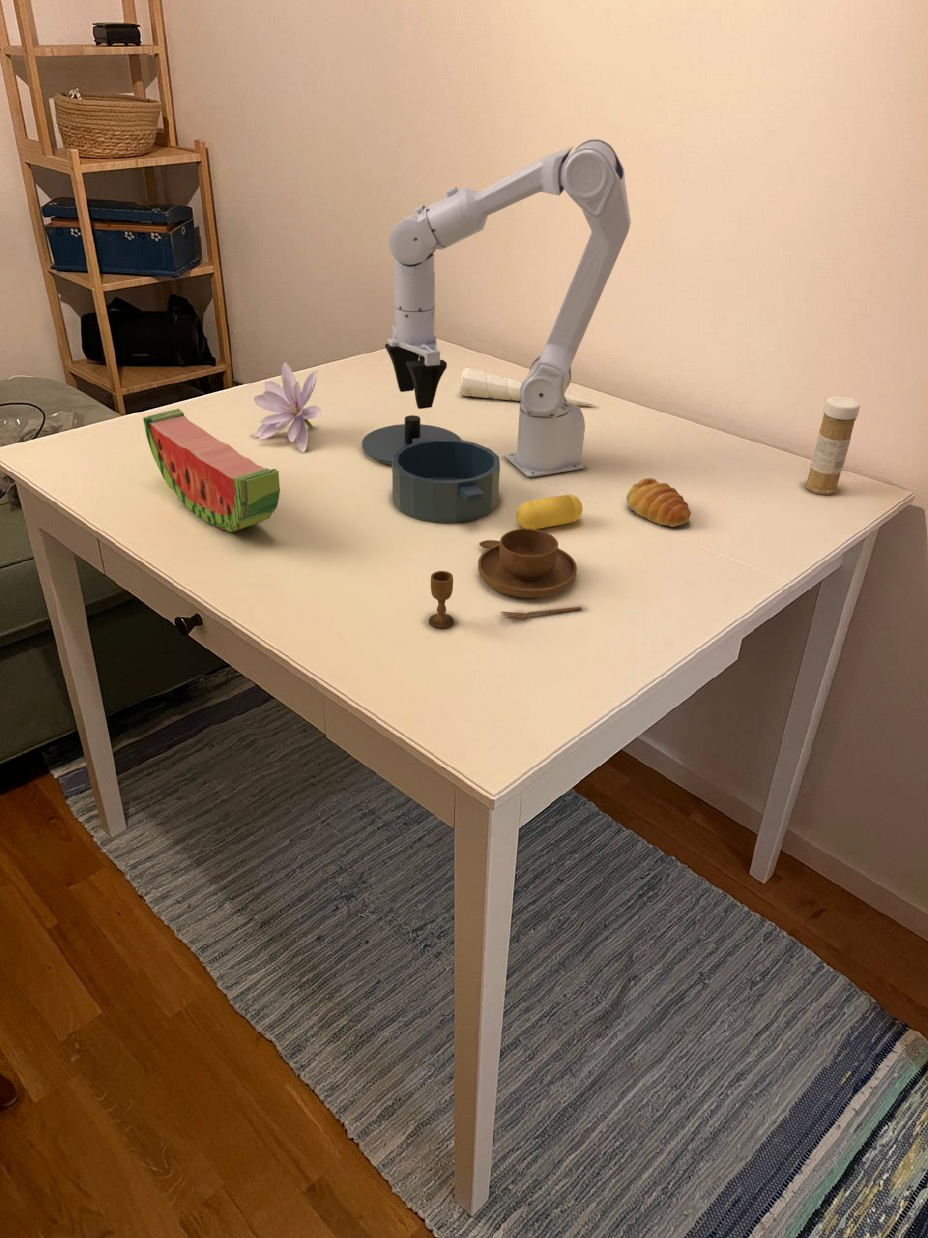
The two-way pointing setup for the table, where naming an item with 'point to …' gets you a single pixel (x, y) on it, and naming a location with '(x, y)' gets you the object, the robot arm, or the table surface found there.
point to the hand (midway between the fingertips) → (415, 398)
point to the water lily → (287, 407)
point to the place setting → (514, 571)
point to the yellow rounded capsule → (549, 512)
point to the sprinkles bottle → (832, 444)
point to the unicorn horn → (498, 387)
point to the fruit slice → (211, 473)
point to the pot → (445, 480)
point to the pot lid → (400, 438)
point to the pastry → (658, 503)
